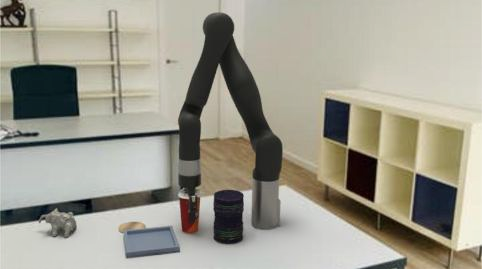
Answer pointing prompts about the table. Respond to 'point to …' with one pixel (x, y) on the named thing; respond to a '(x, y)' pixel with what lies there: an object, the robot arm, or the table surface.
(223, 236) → the storage jar
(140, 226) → the cork coaster
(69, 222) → the elephant statuette
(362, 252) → the table surface
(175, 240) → the tray
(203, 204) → the table surface
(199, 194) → the paper cup
